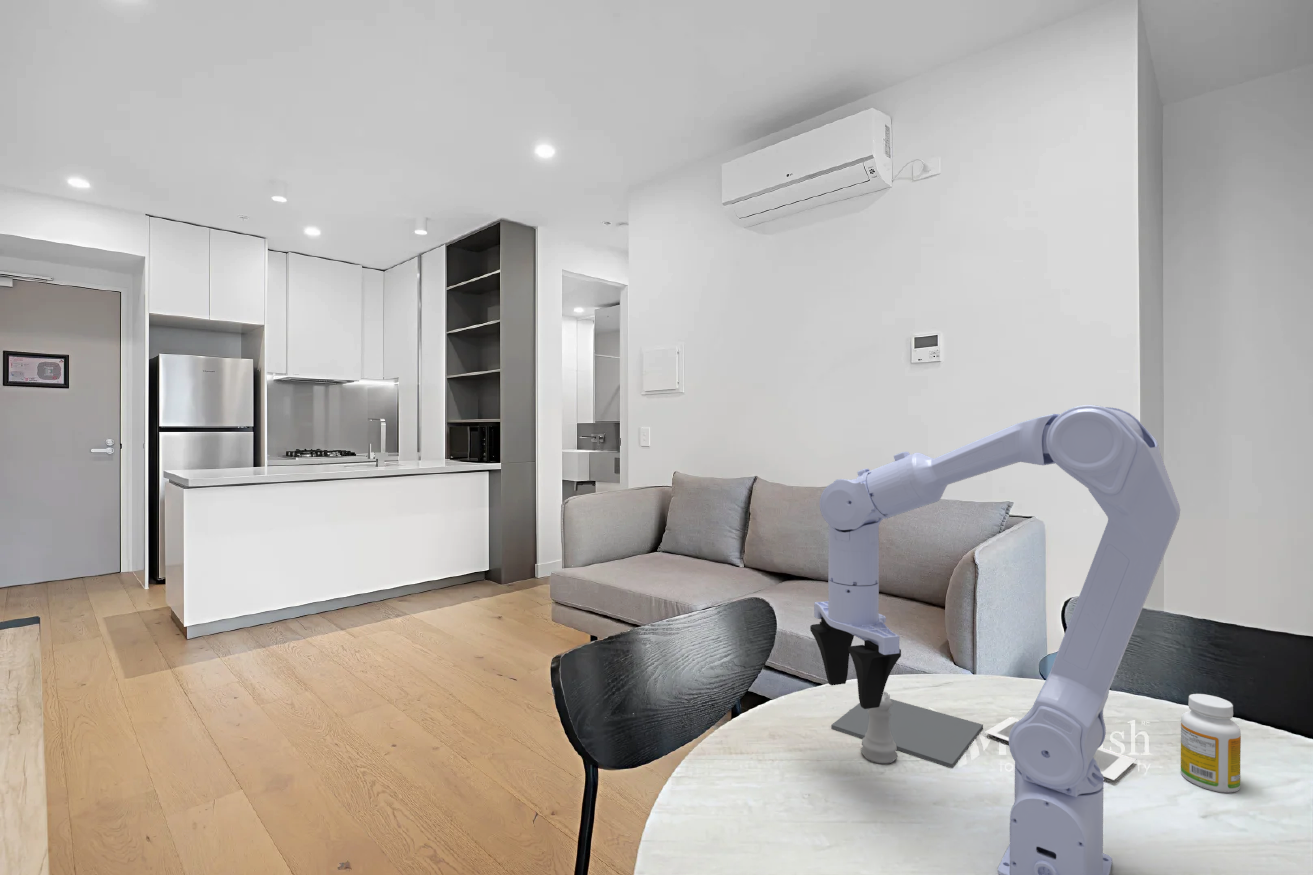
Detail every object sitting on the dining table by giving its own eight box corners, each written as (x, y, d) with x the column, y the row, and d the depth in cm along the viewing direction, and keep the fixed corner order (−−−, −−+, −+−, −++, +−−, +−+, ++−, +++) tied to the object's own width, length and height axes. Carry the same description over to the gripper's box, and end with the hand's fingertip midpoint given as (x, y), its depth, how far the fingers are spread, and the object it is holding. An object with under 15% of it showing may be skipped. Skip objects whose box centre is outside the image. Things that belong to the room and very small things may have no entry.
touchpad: (1114, 789, 75) (1114, 770, 75) (984, 739, 87) (984, 724, 87) (1136, 768, 80) (1136, 750, 80) (1010, 724, 92) (1010, 709, 92)
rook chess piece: (857, 759, 81) (858, 697, 81) (864, 744, 85) (864, 684, 85) (895, 768, 79) (895, 704, 79) (899, 752, 83) (900, 690, 83)
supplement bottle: (1223, 772, 78) (1224, 693, 78) (1251, 797, 73) (1252, 712, 73) (1171, 766, 79) (1172, 688, 79) (1194, 790, 74) (1195, 706, 74)
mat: (952, 768, 79) (952, 764, 79) (831, 728, 90) (831, 724, 90) (982, 728, 90) (983, 724, 90) (871, 696, 100) (871, 693, 100)
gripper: (923, 593, 70) (922, 716, 70) (848, 565, 84) (847, 668, 84) (867, 597, 68) (866, 725, 68) (799, 569, 82) (799, 674, 82)
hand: (852, 694), depth 76 cm, fingers open, 6 cm apart
